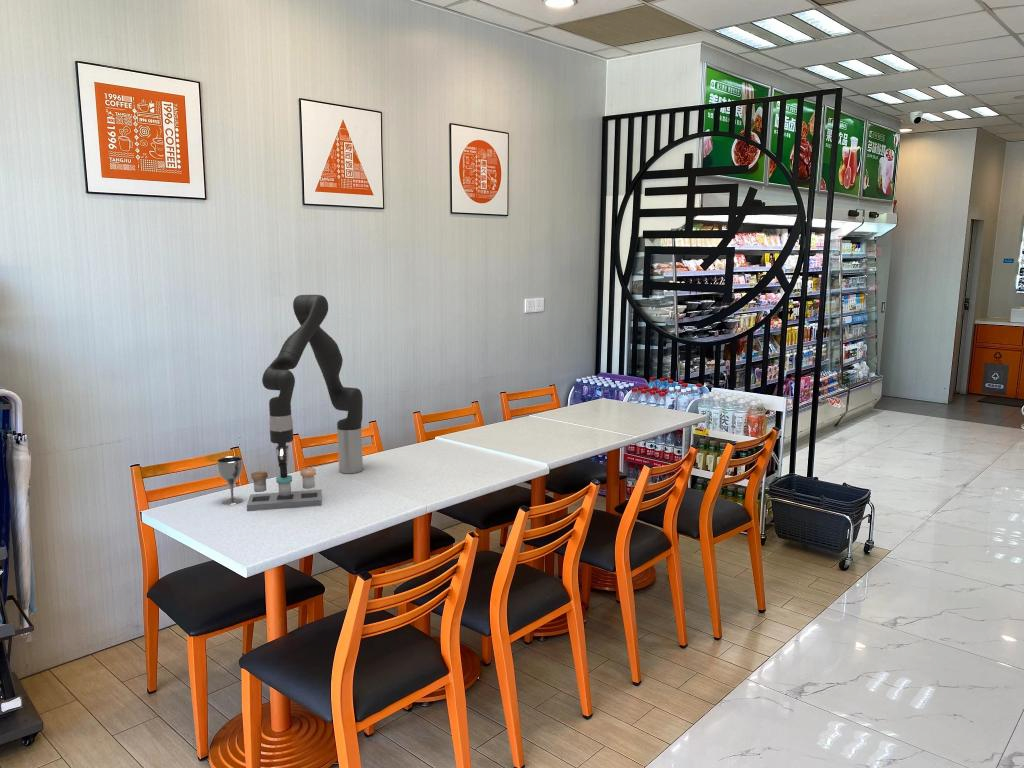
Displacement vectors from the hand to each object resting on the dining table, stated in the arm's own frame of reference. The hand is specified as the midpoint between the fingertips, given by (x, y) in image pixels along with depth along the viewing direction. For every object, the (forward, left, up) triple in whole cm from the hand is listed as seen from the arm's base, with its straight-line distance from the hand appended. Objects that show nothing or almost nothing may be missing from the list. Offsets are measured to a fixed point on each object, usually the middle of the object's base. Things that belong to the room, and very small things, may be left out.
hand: (284, 477), depth 263 cm
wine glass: (-6, -18, -9) cm, 21 cm away
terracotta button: (0, +8, -4) cm, 9 cm away
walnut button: (0, -8, -4) cm, 9 cm away
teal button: (0, 0, -6) cm, 6 cm away
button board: (0, 0, -9) cm, 9 cm away
